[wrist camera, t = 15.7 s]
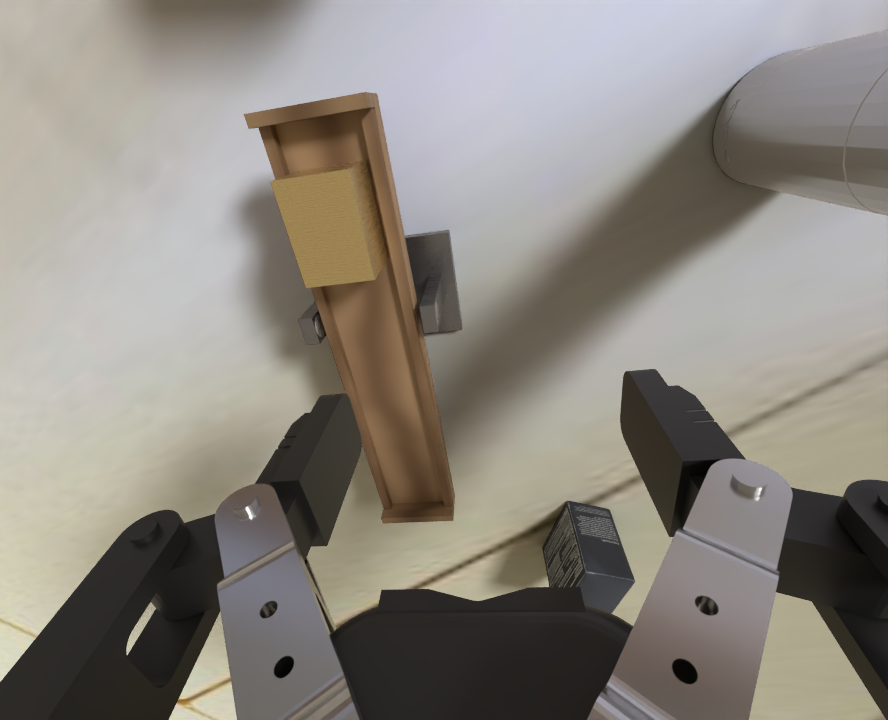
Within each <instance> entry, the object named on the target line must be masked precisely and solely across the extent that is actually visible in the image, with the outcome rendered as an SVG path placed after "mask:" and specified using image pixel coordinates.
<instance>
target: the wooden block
mask: <svg viewBox="0 0 888 720" xmlns="http://www.w3.org/2000/svg"><path fill="white" fill-rule="evenodd" d="M270 182H271V185H272V188H273V191H274V194H275V197H276V200H277V203H278V206H279V209H280V212H281V215H282V218H283V221H284V224H285V227H286V230H287V233H288V236H289V239H290V242H291V245H292V248H293V251H294V254H295V257H296V260H297V263H298V266H299V269H300V272H301V275H302V278H303V281H304V284H305V287H306V288H312V287H320V286H329V285H337V284H345V283H354V282H362V281H371V280H375V279H376V277H377V276H378V274H379V272H380V271H381V269H382V267H383V265H384V264H385V262H386V260H387V259H388V254H387V249H386V245H385V240H384V235H383V231H382V226H381V222H380V217H379V213H378V208H377V203H376V199H375V194H374V190H373V185H372V181H371V176H370V172H369V167H368V162H367V160H363V161H356V162H350V163H344V164H338V165H331V166H325V167H319V168H312V169H306V170H300V171H297V172H294V173H292V174H289V175H286V176H283V177H281V178H278V179H275V180H272V181H270Z"/></svg>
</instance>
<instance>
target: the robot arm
mask: <svg viewBox="0 0 888 720" xmlns="http://www.w3.org/2000/svg"><path fill="white" fill-rule="evenodd" d="M713 148H714V154H715V158H716V160H717V162H718V164H719V167H720V168H721V169H722V170H723V171H724V173H725V174H726V175H728V176H729V177H731V178H732V179H734V180H735V181H738V182H741V183H744V184H749V185H753V186H757V187H762V188H766V189H770V190H774V191H779V192H783V193H788V194H792V195H797V196H801V197H806V198H810V199H815V200H819V201H824V202H828V203H833V204H837V205H842V206H846V207H851V208H855V209H860V210H864V211H869V212H873V213H878V214H883V215H888V30H884V31H879V32H875V33H871V34H866V35H862V36H858V37H853V38H849V39H845V40H840V41H836V42H832V43H826V44H822V45H817V46H813V47H809V48H804V49H800V50H796V51H792V52H787V53H783V54H781V55H778V56H775V57H773V58H770V59H768V60H767V61H765V62H763V63H762V64H760V65H758V66H757V67H755V68H754V69H753V70H752V71H750V72H749V73H748V74H747V75H746V76H744V77H743V78H742V79H741V80H740V82H739V83H738V84H737V85H736V86H735V87H734V88H733V90H732V91H731V92H730V94H729V96H728V97H727V99H726V100H725V102H724V103H723V105H722V108H721V110H720V112H719V115H718V117H717V120H716V124H715V128H714V134H713ZM620 423H621V430H622V434H623V437H624V440H625V442H626V444H627V446H628V448H629V451H630V453H631V455H632V457H633V459H634V461H635V464H636V466H637V468H638V470H639V472H640V474H641V477H642V479H643V481H644V483H645V485H646V487H647V490H648V492H649V494H650V496H651V498H652V500H653V503H654V505H655V507H656V509H657V511H658V513H659V516H660V518H661V520H662V522H663V524H664V526H665V529H666V531H667V533H668V535H669V537H673V540H672V542H671V544H670V546H669V549H668V551H667V553H666V555H665V557H664V560H663V562H662V564H661V566H660V569H659V571H658V573H657V575H656V577H655V580H654V582H653V584H652V586H651V589H650V591H649V593H648V595H647V597H646V600H645V602H644V604H643V606H642V609H641V611H640V613H639V615H638V617H637V620H636V622H635V624H634V626H632V625H630V624H629V623H627V622H625V621H624V620H622V619H621V618H619V617H617V616H615V615H613V614H611V613H609V612H607V611H605V610H602V609H599V608H596V607H594V606H590V605H586V604H584V601H583V597H582V592H581V587H536V588H526V589H522V590H519V591H515V592H512V593H508V594H504V595H501V596H497V597H494V598H490V599H487V600H483V601H472V600H468V599H464V598H461V597H457V596H453V595H449V594H445V593H441V592H437V591H433V590H429V589H406V590H382V591H381V595H380V600H379V605H378V607H375V608H372V609H370V610H367V611H365V612H363V613H361V614H359V615H357V616H355V617H353V618H352V619H350V620H348V621H347V622H346V623H344V624H343V625H341V626H340V627H339V628H338V629H336V627H335V625H334V622H333V620H332V618H331V615H330V613H329V610H328V608H327V605H326V603H325V601H324V598H323V596H322V593H321V591H320V588H319V586H318V583H317V581H316V578H315V576H314V573H313V571H312V568H311V566H310V563H309V561H308V559H307V555H308V552H309V550H310V547H311V546H327V545H328V542H329V539H330V537H331V534H332V531H333V528H334V525H335V523H336V520H337V517H338V514H339V512H340V509H341V506H342V503H343V500H344V498H345V495H346V492H347V489H348V487H349V484H350V481H351V478H352V475H353V473H354V470H355V467H356V464H357V461H358V459H359V456H360V453H361V434H360V431H359V427H358V424H357V421H356V418H355V414H354V411H353V408H352V405H351V401H350V399H349V397H348V395H347V394H335V395H322V396H320V397H319V399H318V401H317V402H316V404H315V406H314V407H313V409H312V411H311V413H305V414H304V415H302V416H301V417H300V418H299V419H298V420H297V421H295V422H294V423H293V424H292V425H291V427H290V428H289V430H288V432H287V433H286V435H285V436H284V437H285V439H283V440H282V441H281V443H280V445H279V446H278V449H276V451H275V453H274V454H273V456H272V457H271V459H270V461H269V462H268V464H267V465H266V467H265V469H264V470H263V472H262V473H261V475H260V477H259V478H258V480H257V481H256V483H255V484H253V485H249V486H246V487H244V488H241V489H239V490H238V491H236V492H234V493H233V494H231V495H230V496H229V497H228V498H226V499H225V500H224V501H223V502H222V504H221V505H220V506H219V508H218V509H217V511H216V514H213V515H210V516H206V517H203V518H200V519H196V520H193V521H190V522H187V523H184V522H183V520H182V519H181V517H180V516H179V514H178V513H177V512H175V511H173V510H162V511H158V512H154V513H152V514H149V515H147V516H145V517H143V518H141V519H139V520H138V521H136V522H135V523H133V524H132V525H130V526H129V527H128V528H127V529H126V530H125V531H124V532H122V534H121V535H120V536H119V537H118V538H117V539H116V541H115V542H114V543H113V544H112V545H111V547H110V548H109V549H108V550H107V552H106V553H105V554H104V555H103V557H102V558H101V559H100V560H99V561H98V563H97V564H96V565H95V566H94V568H93V569H92V570H91V571H90V573H89V574H88V575H87V576H86V577H85V579H84V580H83V581H82V582H81V584H80V585H79V586H78V587H77V589H76V590H75V591H74V592H73V593H72V595H71V596H70V597H69V598H68V600H67V601H66V602H65V603H64V605H63V606H62V607H61V608H60V609H59V611H58V612H57V613H56V614H55V616H54V617H53V618H52V619H51V621H50V622H49V623H48V624H47V625H46V627H45V628H44V629H43V630H42V632H41V633H40V634H39V635H38V637H37V638H36V639H35V640H34V641H33V643H32V644H31V645H30V646H29V648H28V649H27V650H26V651H25V653H24V654H23V655H22V656H21V657H20V659H19V660H18V661H17V662H16V664H15V665H14V666H13V667H12V669H11V670H10V671H9V672H8V673H7V675H6V676H5V677H4V678H3V680H2V681H1V682H0V720H169V717H170V715H171V713H172V711H173V709H174V707H175V705H176V703H177V701H178V699H179V696H180V694H181V692H182V690H183V688H184V686H185V684H186V682H187V680H188V678H189V675H190V673H191V671H192V669H193V667H194V665H195V663H196V661H197V659H198V657H199V655H200V652H201V650H202V648H203V646H204V644H205V642H206V640H207V638H208V636H209V634H210V631H211V629H212V627H213V625H214V623H215V621H216V619H217V617H218V615H219V613H220V611H221V617H222V624H223V630H224V637H225V643H226V650H227V656H228V663H229V669H230V676H231V682H232V689H233V695H234V702H235V708H236V715H237V720H749V716H750V711H751V706H752V702H753V697H754V692H755V688H756V683H757V678H758V674H759V669H760V664H761V659H762V655H763V650H764V645H765V641H766V636H767V631H768V627H769V622H770V617H771V613H772V608H773V603H774V598H775V594H776V592H778V593H782V594H785V595H789V596H793V597H797V598H801V599H805V600H809V601H812V602H813V604H814V606H815V607H816V609H817V610H818V612H819V613H820V615H821V617H822V618H823V620H824V621H825V623H826V625H827V626H828V628H829V629H830V631H831V633H832V634H833V636H834V637H835V639H836V640H837V642H838V644H839V645H840V647H841V648H842V650H843V652H844V653H845V655H846V656H847V658H848V660H849V661H850V663H851V664H852V666H853V667H854V669H855V671H856V672H857V674H858V675H859V677H860V679H861V680H862V682H863V683H864V685H865V687H866V688H867V690H868V691H869V693H870V694H871V696H872V698H873V699H874V701H875V702H876V704H877V706H878V707H879V709H880V710H881V712H882V714H883V715H884V717H885V718H886V720H888V482H886V481H880V480H861V481H856V482H854V483H852V484H850V485H849V486H848V487H847V489H846V491H845V493H844V496H843V497H840V496H834V495H828V494H822V493H817V492H811V491H805V490H800V489H795V488H792V487H790V485H789V484H788V482H787V481H786V480H785V479H784V478H783V477H782V476H781V475H779V474H778V473H777V472H775V471H774V470H772V469H770V468H768V467H766V466H764V465H762V464H759V463H756V462H753V461H749V460H746V459H745V458H744V456H743V455H742V454H741V453H740V451H739V450H738V449H737V448H736V446H735V445H734V444H733V443H732V441H731V440H730V439H729V438H728V436H727V435H726V434H725V433H724V431H723V430H722V429H721V428H720V426H719V425H718V424H717V423H716V422H714V419H713V418H712V416H711V415H710V414H709V413H708V411H706V410H705V407H704V406H703V405H702V404H701V402H700V401H699V400H698V399H697V397H696V396H695V395H693V394H691V393H690V392H688V391H686V390H685V389H683V388H682V387H680V386H668V385H667V384H666V382H665V381H664V380H663V378H662V377H661V376H660V374H659V373H658V371H657V370H655V369H649V370H637V371H626V372H625V373H624V377H623V387H622V401H621V414H620ZM150 602H151V603H152V604H153V605H154V606H155V607H156V610H155V611H154V613H153V615H152V616H151V618H150V620H149V621H148V623H147V624H146V626H145V628H144V629H143V631H142V633H141V634H140V636H139V637H138V639H137V641H136V642H135V644H134V646H133V647H132V649H131V651H130V652H129V654H128V655H127V654H126V647H127V641H128V638H129V636H130V634H131V632H132V630H133V629H134V627H135V625H136V624H137V622H138V621H139V619H140V617H141V616H142V614H143V613H144V611H145V610H146V608H147V606H148V605H149V603H150Z"/></svg>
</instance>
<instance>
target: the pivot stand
mask: <svg viewBox="0 0 888 720" xmlns="http://www.w3.org/2000/svg"><path fill="white" fill-rule="evenodd" d="M405 241H406V246H407V251H408V257H409V262H410V267H411V272H412V277H413V282H414V288H415V293H416V298H417V303H418V308H419V313H420V319H421V324H422V329H423V334H424V333H434V332H444V331H454V330H462V321H461V314H460V306H459V299H458V291H457V284H456V277H455V269H454V262H453V254H452V247H451V240H450V232H449V230H445V231H438V232H430V233H422V234H415V235H407V236H405ZM298 321H299V324H300V327H301V330H302V333H303V336H304V338H305V341H306V344H307V345H312V344H320V343H321V341H322V340H323V339H324V337H325V336H326V331H325V328H324V325H323V322H322V319H321V316H320V313H319V310H318V307H317V304H316V301H315V302H314V303H313V304H312V305H311V306H310V307H309V309H308V310H307V311H306V312H305V313H304V314H303V315H302V316H301V317H300V318H299V319H298Z"/></svg>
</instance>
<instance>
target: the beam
mask: <svg viewBox="0 0 888 720" xmlns="http://www.w3.org/2000/svg"><path fill="white" fill-rule="evenodd" d="M244 116H245V119H246V122H247V125H248V128H249V129H250V128H259V131H260V134H261V137H262V140H263V143H264V146H265V149H266V152H267V155H268V158H269V161H270V164H271V167H272V170H273V173H274V176H275V179H278V178H281V177H283V176H286V175H289V174H292V173H294V172H297V171H300V170H306V169H312V168H319V167H325V166H331V165H338V164H344V163H350V162H356V161H363V160H367V162H368V167H369V172H370V176H371V181H372V185H373V190H374V194H375V199H376V203H377V208H378V213H379V217H380V222H381V226H382V231H383V235H384V240H385V245H386V249H387V254H388V259H387V260H386V262H385V264H384V265H383V267H382V269H381V271H380V272H379V274H378V276H377V277H376V279H375V280H371V281H362V282H354V283H345V284H337V285H329V286H320V287H312V288H311V289H312V292H313V295H314V298H315V301H316V304H317V307H318V310H319V313H320V316H321V319H322V322H323V325H324V328H325V331H326V334H327V337H328V340H329V343H330V346H331V350H332V353H333V356H334V359H335V362H336V365H337V368H338V371H339V374H340V377H341V380H342V383H343V386H344V389H345V392H346V394H347V395H348V397H349V399H350V401H351V405H352V408H353V411H354V414H355V418H356V421H357V424H358V427H359V431H360V434H361V441H362V444H363V447H364V450H365V453H366V456H367V459H368V462H369V465H370V468H371V471H372V474H373V477H374V480H375V483H376V486H377V489H378V492H379V495H380V499H381V502H382V505H383V508H384V509H383V513H382V518H381V519H382V522H383V523H403V522H430V521H453V516H454V499H455V494H454V489H453V484H452V479H451V473H450V468H449V463H448V458H447V453H446V448H445V442H444V437H443V432H442V427H441V422H440V417H439V411H438V406H437V401H436V396H435V391H434V386H433V380H432V375H431V370H430V365H429V360H428V355H427V350H426V344H425V339H424V334H423V329H422V324H421V319H420V313H419V308H418V303H417V298H416V293H415V288H414V282H413V277H412V272H411V267H410V262H409V257H408V251H407V246H406V241H405V236H404V231H403V226H402V220H401V215H400V210H399V205H398V200H397V195H396V189H395V184H394V179H393V174H392V169H391V164H390V158H389V153H388V148H387V143H386V138H385V133H384V127H383V122H382V117H381V112H380V107H379V102H378V96H377V94H375V93H367V92H364V93H359V94H353V95H348V96H342V97H337V98H331V99H326V100H320V101H315V102H309V103H304V104H298V105H293V106H287V107H282V108H276V109H271V110H265V111H260V112H254V113H249V114H244Z"/></svg>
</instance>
